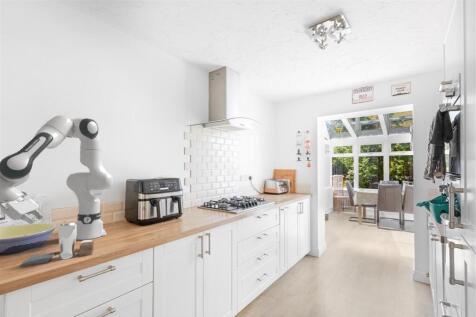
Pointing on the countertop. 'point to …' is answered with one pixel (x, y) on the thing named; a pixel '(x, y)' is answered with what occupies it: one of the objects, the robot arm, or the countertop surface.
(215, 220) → the countertop surface
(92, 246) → the walnut cube
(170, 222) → the countertop surface
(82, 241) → the pale grey block
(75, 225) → the beer glass
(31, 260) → the charcoal mat
